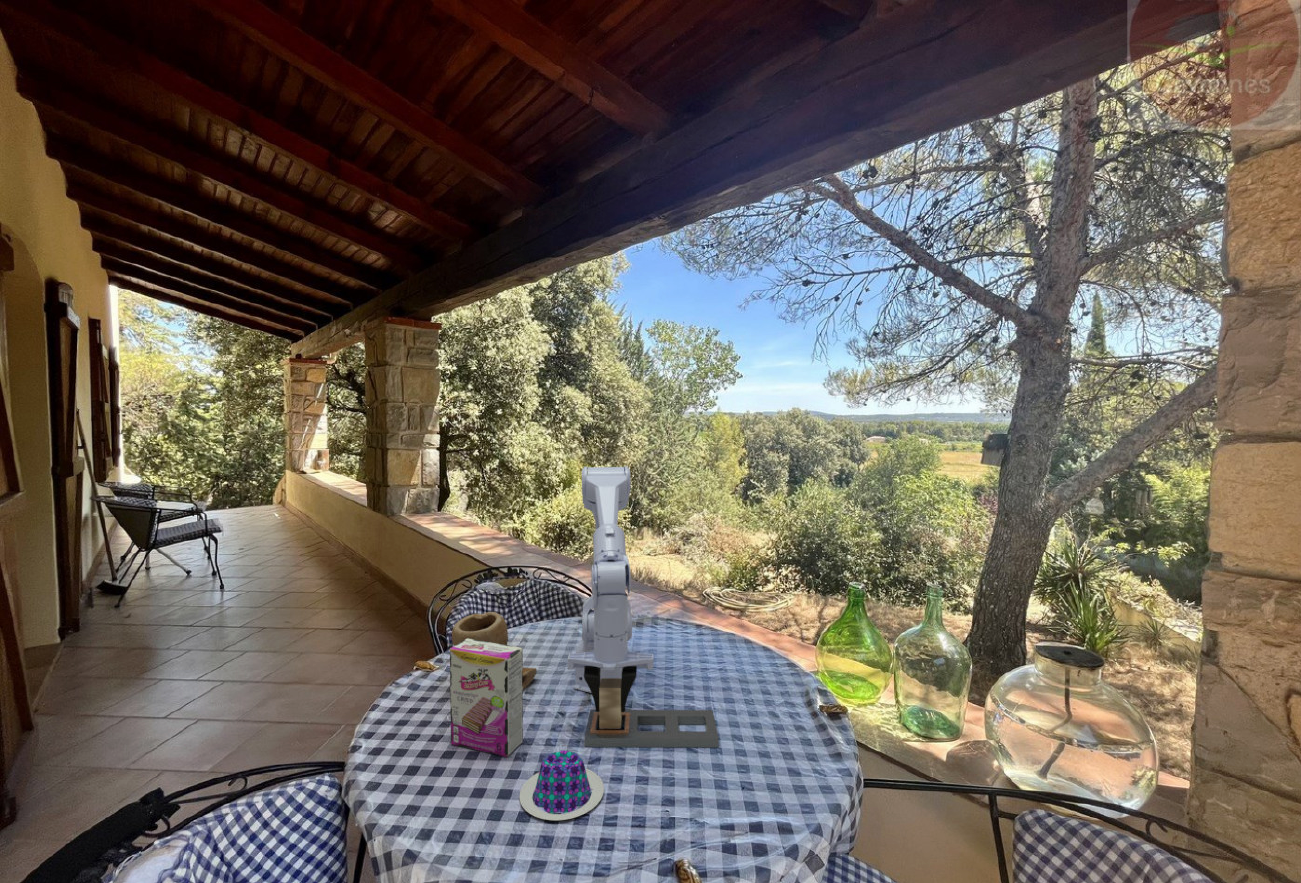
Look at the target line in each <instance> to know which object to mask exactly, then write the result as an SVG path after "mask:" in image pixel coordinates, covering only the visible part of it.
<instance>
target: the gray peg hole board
mask: <svg viewBox="0 0 1301 883" xmlns="http://www.w3.org/2000/svg"><path fill="white" fill-rule="evenodd" d="M621 725H624V726H623V728H624V729H607V730H606V729H598V727H599V712H596V709H590V710H589V713H588V719H587V724H586V729H585V734H584V738H583V739H584V740H583V741H584V747H585V748H719V743H720V742H719V735H718V729H717V724H716V720H715V715H714V710H713V709H712V710H710V709H701V710H699V709H625V712H622V720H621ZM639 725H664V728H665V730H663V731H662V730H658V731H657V730H656V731H655V730H643V731H642V730H639V729H638V726H639ZM680 725H681V726H682V725H684V726H685V725H689V726H691V725H693V726H694V725H695V726H696V725H697V726H698V725H703V726H704V728H705V730H703V731H702V730H701V731H693V730H692V731H691V730H690V731H685V730H683V731H682V730H681V731H680V728H679V726H680Z"/></svg>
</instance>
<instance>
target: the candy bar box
mask: <svg viewBox="0 0 1301 883" xmlns="http://www.w3.org/2000/svg"><path fill="white" fill-rule="evenodd" d="M523 654H524V653H523V647H519V646H513V645H508V644H507V645H502V644H496V643H490V642H485V641H479V640H474V639H468V638H467V639H465V640H464V641H462V642H460V643H459V644H457V645H455V646H454V645H453V646H452V647H450V648H449V674H450V675H449V688H450V695H449V696H450V701H449V703H450V744H451V745H454V746H458V747H462V748H468V749H471V750H475V751H479V752H483V753H488V754H493V755H496V756H500V757H505V758H508V757H510V755H512V754H513V753H514V752H515V750H516V749H517V748H519V747H520V746H521V744H523V741H524V731H523V730H524V729H523V728H524V722H523V720H524V718H523V714H524V712H523V711H524V707H523V705H524V704H523V703H524V701H523V700H524V699H523V697H524V696H523V693H524V692H523V690H524V689H523V673H522V672H523V671H522V670H523V668H524V667H523V661H524V660H523V658H524V657H523Z"/></svg>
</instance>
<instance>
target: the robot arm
mask: <svg viewBox="0 0 1301 883" xmlns="http://www.w3.org/2000/svg"><path fill="white" fill-rule="evenodd" d="M631 481H632V480H631V470H630V468H629V467H628V465H626V466H625V465H624V466H613V467H612V466H601V467H600V466H599V467H598V466H595V467H593V466H592V467H591V466H590V467H589V466H583V467H582V469H581V496H582V504H583V508H584V509H586V510H588V511H590V512H591V513H592V516H593V519H594V523H595V524H594V525H595V531H594V532H593V535H592V540H593V541H592V543H593V546H592V547H593V548H592V552H593V554H592V555H593V564H591V574H590V575H591V580H590V581H591V594H592V595H590V596H589V597H588V598H587V599H586V600H584V602H583V604H582V613H581V617H582V619H581V622H582V623H581V628H582V629H581V634H582V635H581V638H582V639H581V641H580V642H579V644H578V646H577V648H576V651H575V653H569V654H568V657H567V670H574V669H575V670H574V671H575V684H574V685H572V687H573V689H574V690H577V689H578V690H577V691H582V692H587V693H589V694H591V695H592V698H593V701H594V707H595V710H596V712H599V687H600V682H601V678H622V699H621V712H625V710H626V706H627V704H626V703H627V700H628V697H629V694H630V691H631V689H632V686H633V685H634V683H635V680H636V677H637V670H638V669H646V670H649V671H654V654H653V653H642V652H636V651H628V646H629V645H628V642H629V641H631V639H632V636H633V617H632V607H631V606H632V605H631V603H630V600H628V599H629V598H628V597H629V596H628V595H630V593H631V592H630V591H631V588H632V575H631V574H632V573H631V565H630V562H629V557H628V554H627V550H626V538H625V537H626V536H625V531H624V530H623V529H622V528H621V527H620V526H618V525H619V524H618V522H619V520H618V519H619V512H620V511H622V510H623V509H626V508H627V507H628V503H629V502H630V501H629V500H630V494H631ZM626 588H627V592H626Z"/></svg>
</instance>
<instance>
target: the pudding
mask: <svg viewBox="0 0 1301 883" xmlns="http://www.w3.org/2000/svg"><path fill="white" fill-rule="evenodd" d="M584 763H585V762H584V761H583V759H582V757H580V755H579V754H578V753H577V752H575V751H568V750H564V749H563V750H560V751H554V752H551V753H550V754H549V755H547V756H546V757H545V758H544V759H543V760H542V761H541V763H540V767H539V768H540V769H539V772H537V773H536V774H533V775H532V776H530V777H529V778H528V779H527V780H526V781H525V782H524V784H523V785H522V787H521V789H520V791H519V802H520V805H521V806H522V808H523V809H524V810H525V812H527V813H528V814H530V815H531V816H534V817H535V818H538V819H542V820H547V821H564V820H565V821H566V820H570V819H575V818H577V817H580V816H582V815H584V814H587V813H588V812H590V811H591V810H593V809H594V808H595V807H596V806H598V804H599V803H600V801H601V800H602V798H603V796H604V792H605V787H604V782H603V780H602V779H601V777H600V776H599V775H598V774H597V773H596V772H595V771H592V770H591V769H588V768H586V766H585V764H584ZM534 789H535V790H534ZM591 789H593V790H591ZM591 791H592V793H591ZM588 796H590V798H589V797H588ZM533 797H534V800H533ZM588 798H589V799H588ZM577 807H578V809H576V808H577ZM579 807H580V808H579ZM540 808H543V810H544V811H543V810H541V809H540ZM559 812H561V813H560V814H559ZM556 813H558V814H556Z"/></svg>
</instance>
